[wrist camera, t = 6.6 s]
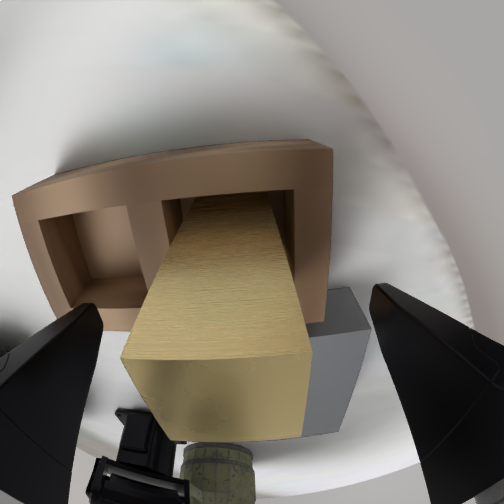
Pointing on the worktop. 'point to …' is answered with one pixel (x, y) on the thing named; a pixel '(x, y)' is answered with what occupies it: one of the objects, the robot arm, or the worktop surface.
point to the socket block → (333, 362)
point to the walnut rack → (170, 220)
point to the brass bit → (223, 329)
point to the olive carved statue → (219, 473)
